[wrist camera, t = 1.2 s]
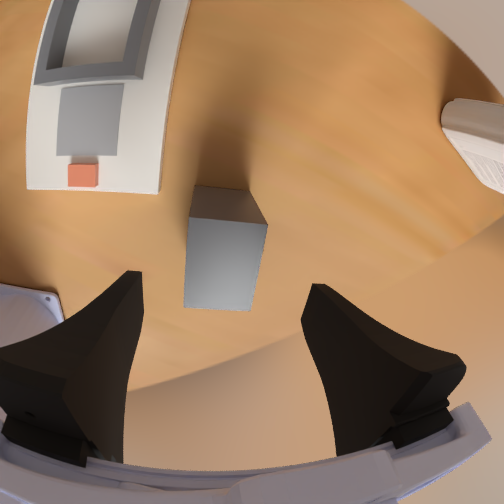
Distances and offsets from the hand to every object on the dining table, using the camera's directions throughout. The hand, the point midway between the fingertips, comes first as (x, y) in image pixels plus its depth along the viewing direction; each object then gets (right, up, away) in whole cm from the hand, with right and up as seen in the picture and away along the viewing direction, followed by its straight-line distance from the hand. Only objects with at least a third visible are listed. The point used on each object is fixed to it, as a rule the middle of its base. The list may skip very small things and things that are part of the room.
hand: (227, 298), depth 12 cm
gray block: (-1, +4, +7) cm, 9 cm away
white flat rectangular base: (-8, +13, +1) cm, 16 cm away
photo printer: (+21, +12, +7) cm, 25 cm away
